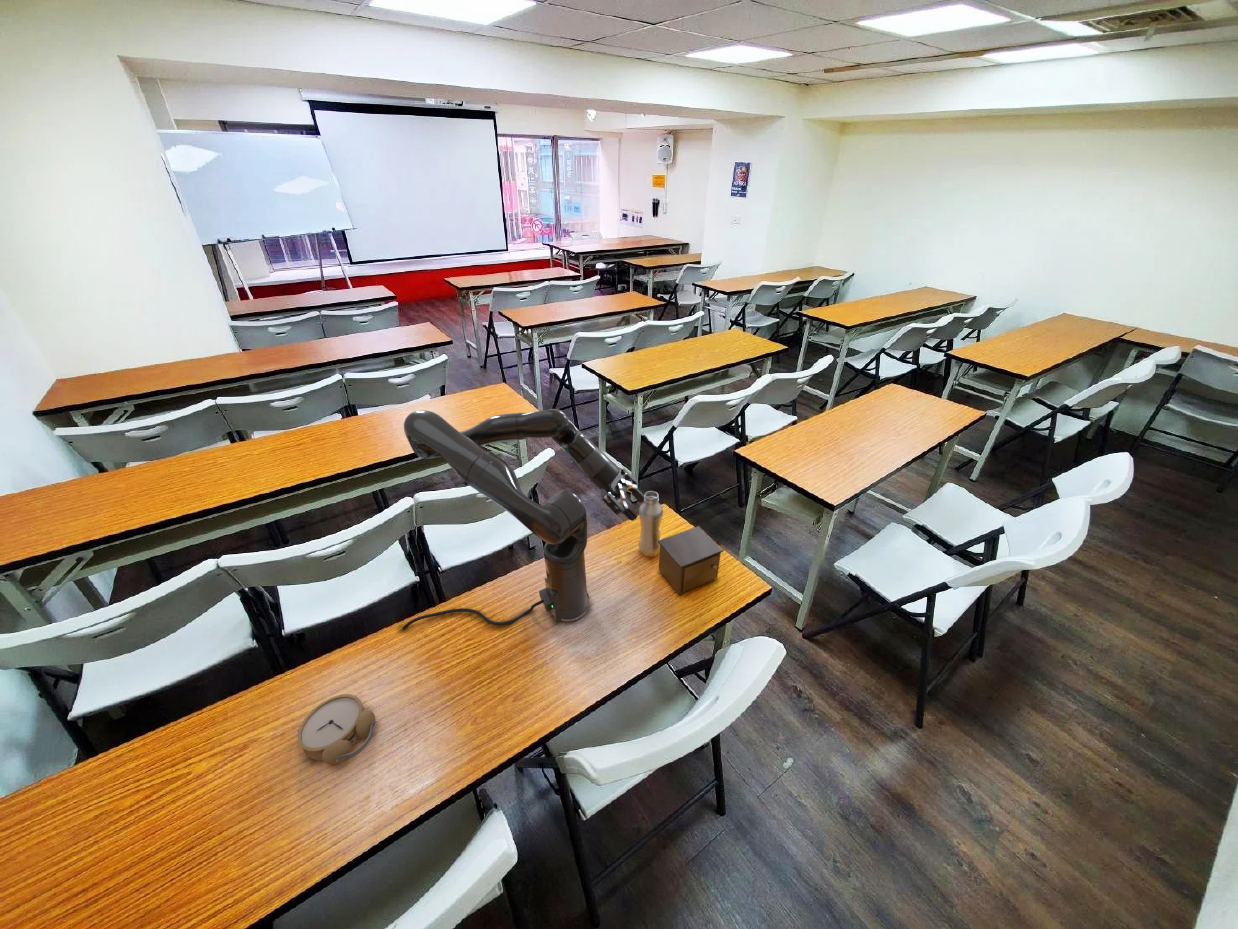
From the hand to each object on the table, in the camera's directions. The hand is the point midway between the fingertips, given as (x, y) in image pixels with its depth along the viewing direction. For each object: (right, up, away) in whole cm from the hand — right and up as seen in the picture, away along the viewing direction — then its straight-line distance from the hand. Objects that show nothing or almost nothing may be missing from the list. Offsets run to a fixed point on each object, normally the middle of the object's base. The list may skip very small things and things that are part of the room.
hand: (639, 509), depth 127 cm
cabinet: (+13, -18, -2) cm, 22 cm away
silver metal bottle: (+3, -13, +7) cm, 15 cm away
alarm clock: (-59, -41, -36) cm, 80 cm away
